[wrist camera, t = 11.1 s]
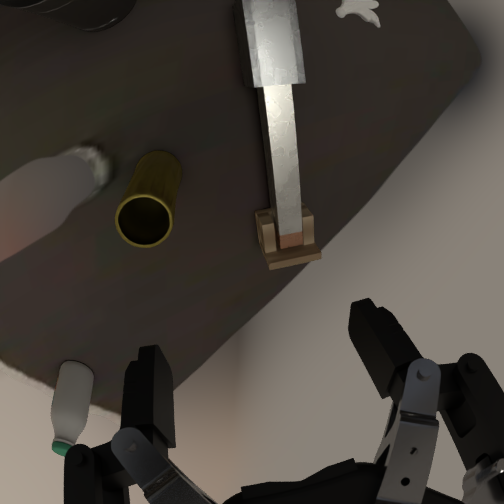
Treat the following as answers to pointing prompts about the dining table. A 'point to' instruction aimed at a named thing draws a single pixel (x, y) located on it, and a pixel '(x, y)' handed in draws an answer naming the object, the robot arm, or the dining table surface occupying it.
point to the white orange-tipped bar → (281, 162)
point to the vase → (149, 200)
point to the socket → (291, 254)
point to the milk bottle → (70, 404)
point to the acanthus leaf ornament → (359, 10)
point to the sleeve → (269, 42)
